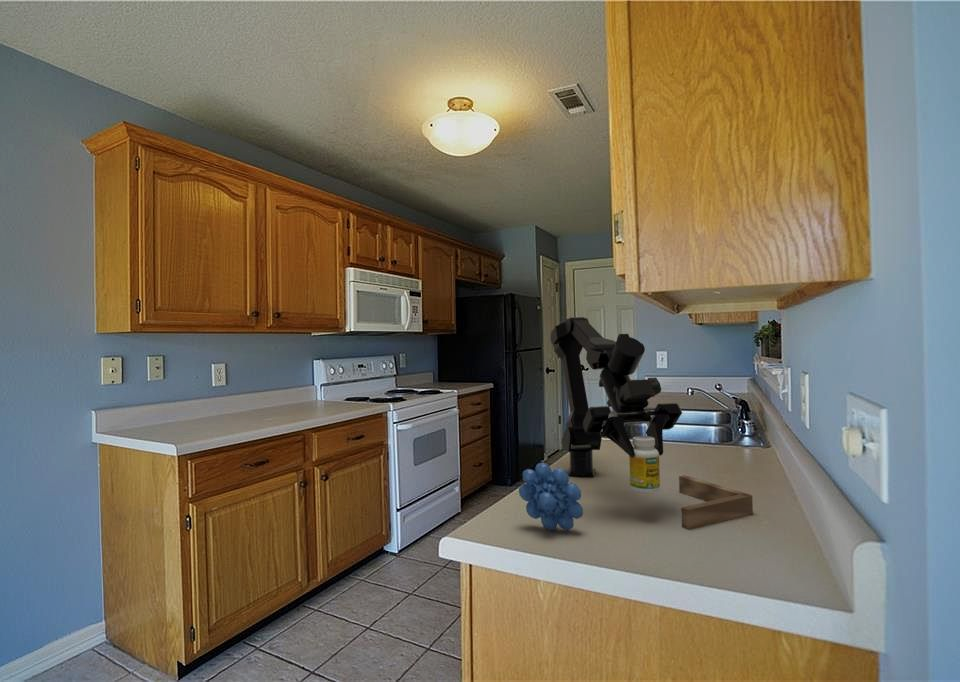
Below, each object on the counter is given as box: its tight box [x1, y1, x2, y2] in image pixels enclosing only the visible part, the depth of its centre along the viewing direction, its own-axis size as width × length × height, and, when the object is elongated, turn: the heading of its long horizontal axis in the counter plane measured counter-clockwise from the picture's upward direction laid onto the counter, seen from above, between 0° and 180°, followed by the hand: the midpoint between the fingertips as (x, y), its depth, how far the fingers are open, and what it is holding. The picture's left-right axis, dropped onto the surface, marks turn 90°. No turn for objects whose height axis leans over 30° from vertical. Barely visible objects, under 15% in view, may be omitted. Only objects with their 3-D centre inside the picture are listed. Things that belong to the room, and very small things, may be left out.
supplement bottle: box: [628, 435, 661, 493], centre depth 92 cm, size 5×5×10 cm
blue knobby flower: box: [518, 462, 584, 531], centre depth 87 cm, size 12×7×12 cm, turn 70°
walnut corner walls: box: [678, 474, 754, 531], centre depth 97 cm, size 16×17×4 cm
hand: (647, 455), depth 91 cm, fingers closed on supplement bottle, 5 cm apart
